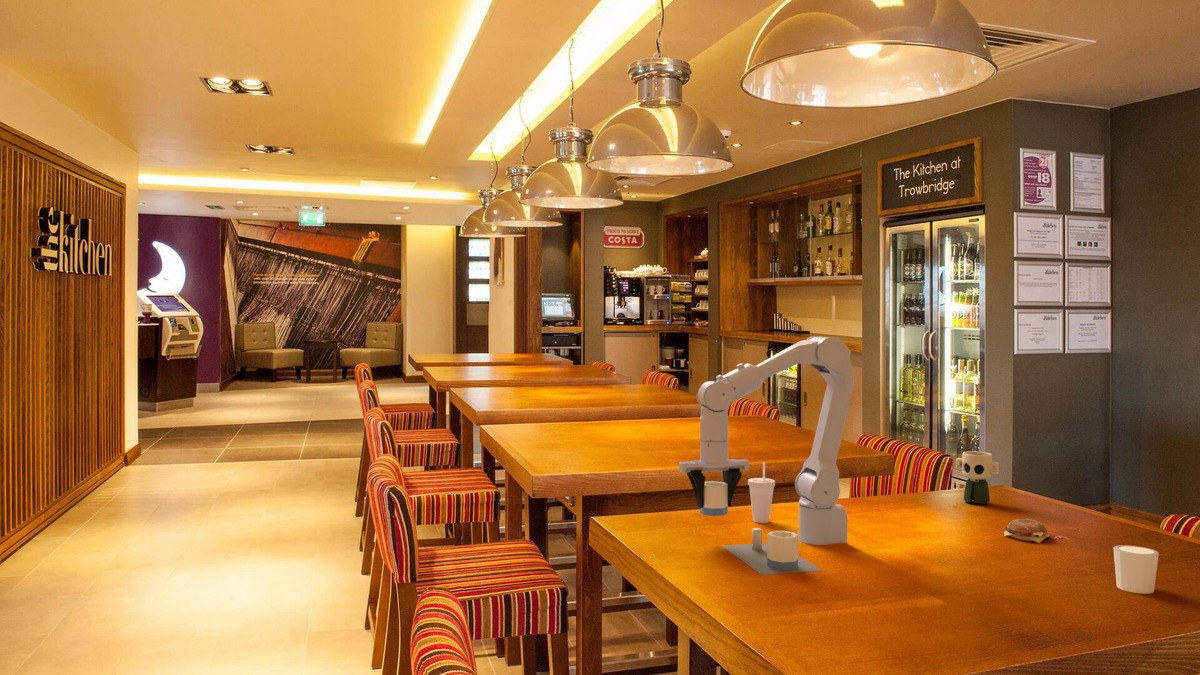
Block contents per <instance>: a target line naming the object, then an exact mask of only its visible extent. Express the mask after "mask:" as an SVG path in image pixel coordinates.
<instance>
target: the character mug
mask: <svg viewBox="0 0 1200 675" xmlns="http://www.w3.org/2000/svg"><path fill="white" fill-rule="evenodd" d="M961 455H962V456H961V457H957V458H955V470H957V471H960V472H962V476H963V477H965V478H967V480H966V481H965V486H964V491H963V492H964V493H963V501H965V502H967V503H974V504H982V505H983V504H988V503H989V502H990V501H991V498H990V497H991V496H990V488H989V483H988V481H987V480H990V479H991V478H992V476H998V475H999V474H1000V464H999V462H997V461H993V454H992V453H991V452H986V451H979V450H978V451H973V450H972V451H971V450H969V451H963V452H962V454H961ZM961 463H962V464H961ZM993 466H994V470H993Z"/></svg>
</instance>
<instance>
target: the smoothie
mask: <svg viewBox="0 0 1200 675" xmlns="http://www.w3.org/2000/svg"><path fill="white" fill-rule="evenodd" d="M747 485H748V486H749V494H750V496H749V497H750V504H751V513H752V521H753V522H754V523H757V524H767V523H770V517H771V509H772V502H773V494H774V487H775V486H776V480H774V479H771V478H767V477H766V461H763V462H762V477H752V478H749V479H747Z"/></svg>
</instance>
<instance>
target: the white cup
mask: <svg viewBox="0 0 1200 675" xmlns="http://www.w3.org/2000/svg"><path fill="white" fill-rule="evenodd" d="M1159 554H1160V553H1159V551H1157V550H1155V549H1153V548H1149V547H1144V546H1139V545H1129V544H1128V545H1127V544H1124V545H1122V544H1121V545H1119V544H1118V545H1115V546H1114V547H1113V558H1114V567H1115V568H1114V570H1115V571H1114V572H1115V580H1116V581H1115V582H1116V587H1117V588H1118V589H1119V590H1122V591H1125V592H1130V593H1134V594H1145V595H1146V594H1153V593H1154V592H1155V588H1156V587H1155V586H1156V585H1155V584H1156V578H1157V571H1158V570H1157V569H1158V564H1159V563H1158V562H1159Z"/></svg>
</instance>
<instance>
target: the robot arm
mask: <svg viewBox="0 0 1200 675" xmlns="http://www.w3.org/2000/svg"><path fill="white" fill-rule="evenodd" d="M851 355H852V351H851V350H850V349H849V347H848V346H847V344H846V343H845V342H844V341H843V340H842V339H841V338H839V337H836V336H827V337H826V336H819V335H813V336H809V337H808V338H807V339H803V340H800V341H798V342H796V343H794V344H792V345H790V346H789V347H787V348H785V349H783V350H781V351H780V352H778V353H776V354H774V355H773V356H770V357H769V358H767V359H765V360H764V361H762V362H760V363H758V364H756V365H754V364H752V363H745V364H744V363H742V362H741V363H738V364H737V365H735V368H736V369H733V370H730V371H729V372H727V373H726V374H723V375H722V374H718V375H716V377H715V378H716V380H715V381H714V380H709V381H705V382H704V383H702V384H701V385H700V387H699V388H698V391H697V393H696V396H695V397H696V400H697V402H698V404H699V405H700V417H699V440H700V441H699V445H700V446H699V449H700V450H699V459H697V460H690V461H679V462H678V472H680V473H681V474H686V475H687V477H688V479H689V480H688V481H690V482H689V483H690V484H691V486H692V489H693V491H694V495H695V496H694V497H695V499H696V506H697V508H698V507H699V509H700V508H704V484H705V482H706V476H705V475H704V473H703V472H718V471H719V472H722V478H723V479H722V480H723V482H724V483H726V484H728V507H731V506H732V501H733V498H734V494H735V491H736V488H737V486H738V485H739V482H740V480H741V479H742V475H743V472H742V470H743V471H749V470H750V461H749V460H748V459H744V458H743V459H733V458H732V459H731V458H730V459H729V417H728V416H729V414H728V413H729V407H730V406H731V405H732V403H733V402H736V401H738V400H740V399H741V398H744V397H745V396H747V395H749V394H751V393H753V392H755V391H757V390H759V389H761V387H762V386H763V382H764V380H766V379H768V378H769V377H772V376H774V375H776V374H778V373H781V372H783V371H785V370H787V369H790V368H791V367H794V366H796V365H800V364H801V365H809V366H811V367H812V368H814V369H815V370H817V371H818V373H819V374H820V375H821V377H822V378H823V380H825V383H826V388H825V392H824V396H823V401H822V405H821V410H820V414H819V418H818V422H817V425H816V426H817V427H816V430H815V434H814V440H813V443H812V447H811V452H810V456H809V457H808V458H807V459H806V460H805V461H804V462H803V466H802V469H801V470H800V472H799V473H798V474H797V476H796V478H795V481H794V488H795V492H796V493H797V494H798V495H799V496H800V497H799V500H798V542H801V543H804V544H806V545H807V544H808V545H813V546H815V545H816V546H827V545H834V544H848V522H849V521H848V514H847V511H846V509H845V507H844V506H843V505H842V504H839V503H838V504H837V501H838V499H839V497H840V493H841V491H840V490H841V489H840V485H839V484H840V483H839V479H840V470H839V468H838V465H837V461H838V460H837V459H838V455H839V452H840V448H841V447H840V446H841V443H842V438H843V434H844V431H845V430H844V429H845V426H846V421H847V417H848V414H849V409H850V408H849V407H850V404H851V400H852V396H853V392H854V387H855V383H856V377H855V374H854V368H853V365H852V361H851Z"/></svg>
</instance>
